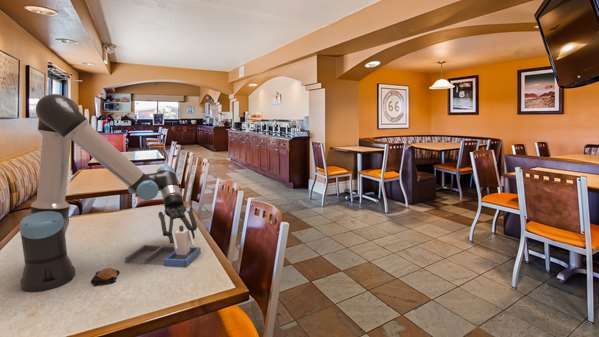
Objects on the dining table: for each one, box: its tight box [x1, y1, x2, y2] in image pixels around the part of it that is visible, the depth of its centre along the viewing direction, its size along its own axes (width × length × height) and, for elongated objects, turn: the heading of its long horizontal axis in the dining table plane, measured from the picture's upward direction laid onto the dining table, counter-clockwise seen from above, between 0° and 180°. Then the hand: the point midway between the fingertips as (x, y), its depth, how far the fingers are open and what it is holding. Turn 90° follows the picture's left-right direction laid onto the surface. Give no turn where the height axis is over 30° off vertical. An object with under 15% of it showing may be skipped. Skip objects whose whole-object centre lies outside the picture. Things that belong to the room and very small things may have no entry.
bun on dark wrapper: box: [90, 267, 121, 287], centre depth 116 cm, size 11×8×4 cm
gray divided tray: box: [124, 244, 202, 268], centre depth 132 cm, size 14×25×3 cm, turn 83°
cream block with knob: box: [173, 224, 191, 255], centre depth 130 cm, size 4×4×11 cm
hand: (184, 248), depth 128 cm, fingers closed on cream block with knob, 6 cm apart
